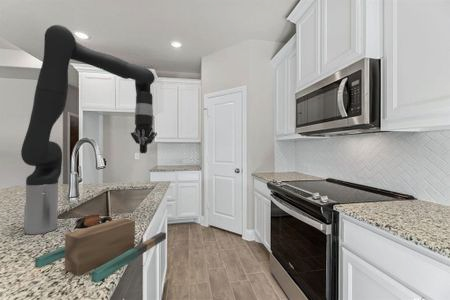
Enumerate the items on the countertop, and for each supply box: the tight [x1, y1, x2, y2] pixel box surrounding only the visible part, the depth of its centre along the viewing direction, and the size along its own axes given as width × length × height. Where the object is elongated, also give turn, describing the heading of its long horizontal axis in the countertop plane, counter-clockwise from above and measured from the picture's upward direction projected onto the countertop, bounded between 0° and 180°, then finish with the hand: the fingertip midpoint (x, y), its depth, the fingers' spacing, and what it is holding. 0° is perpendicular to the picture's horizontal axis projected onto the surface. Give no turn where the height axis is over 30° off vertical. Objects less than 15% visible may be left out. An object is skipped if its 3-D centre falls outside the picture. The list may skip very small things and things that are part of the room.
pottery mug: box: [73, 213, 114, 231], centre depth 79 cm, size 12×10×8 cm
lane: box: [34, 231, 167, 283], centre depth 66 cm, size 21×27×2 cm
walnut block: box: [64, 217, 136, 277], centre depth 61 cm, size 6×16×9 cm, turn 152°
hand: (143, 153), depth 100 cm, fingers closed
